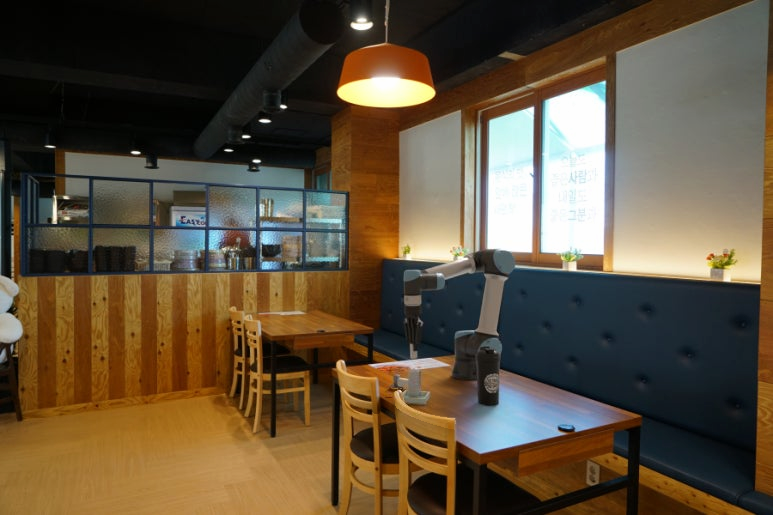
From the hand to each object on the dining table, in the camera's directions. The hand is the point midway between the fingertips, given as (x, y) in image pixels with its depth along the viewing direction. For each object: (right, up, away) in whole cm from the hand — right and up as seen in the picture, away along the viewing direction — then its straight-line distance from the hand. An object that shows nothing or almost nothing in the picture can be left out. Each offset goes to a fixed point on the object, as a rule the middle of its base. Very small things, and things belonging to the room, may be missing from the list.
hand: (413, 358), depth 228 cm
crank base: (-7, -16, +9) cm, 20 cm away
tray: (0, -16, -10) cm, 19 cm away
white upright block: (0, -15, -10) cm, 18 cm away
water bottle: (+30, -16, -14) cm, 37 cm away
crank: (-3, -14, +7) cm, 16 cm away
